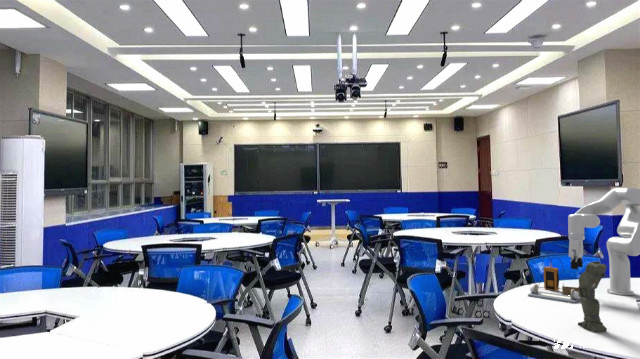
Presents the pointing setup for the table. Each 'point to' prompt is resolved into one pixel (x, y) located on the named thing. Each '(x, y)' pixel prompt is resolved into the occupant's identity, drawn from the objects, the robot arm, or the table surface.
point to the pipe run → (554, 295)
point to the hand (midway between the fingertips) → (576, 268)
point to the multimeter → (551, 277)
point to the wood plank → (569, 290)
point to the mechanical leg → (591, 296)
